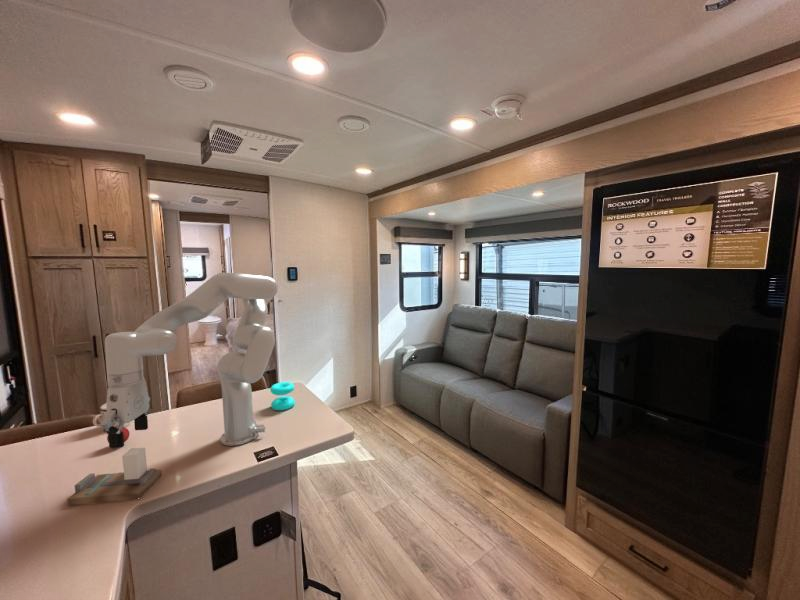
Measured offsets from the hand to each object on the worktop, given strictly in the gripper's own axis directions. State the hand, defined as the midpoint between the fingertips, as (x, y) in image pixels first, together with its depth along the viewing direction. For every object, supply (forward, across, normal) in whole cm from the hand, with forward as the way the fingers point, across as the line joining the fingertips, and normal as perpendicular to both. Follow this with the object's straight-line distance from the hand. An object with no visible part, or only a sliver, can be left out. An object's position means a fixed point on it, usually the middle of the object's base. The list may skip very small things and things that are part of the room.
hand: (129, 438), depth 89 cm
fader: (+13, +1, -1) cm, 13 cm away
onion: (+15, +26, +20) cm, 36 cm away
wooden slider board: (+15, +1, +4) cm, 16 cm away
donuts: (+14, +51, -30) cm, 60 cm away
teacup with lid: (+15, +41, +32) cm, 54 cm away
